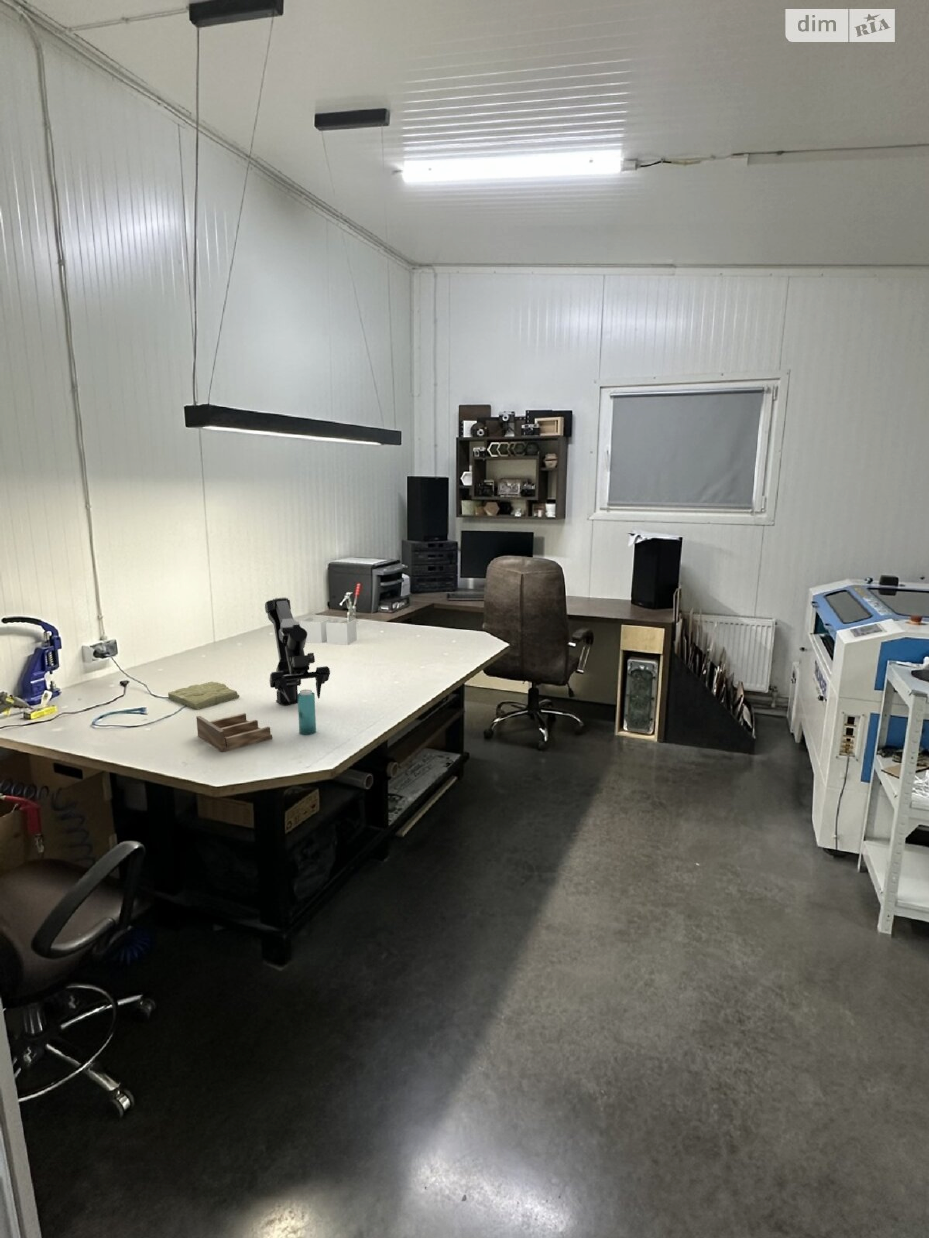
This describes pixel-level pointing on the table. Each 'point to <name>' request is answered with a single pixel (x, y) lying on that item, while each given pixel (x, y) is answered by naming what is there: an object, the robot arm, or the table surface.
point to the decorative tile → (203, 695)
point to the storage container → (329, 631)
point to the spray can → (306, 712)
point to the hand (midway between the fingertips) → (304, 699)
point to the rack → (231, 732)
